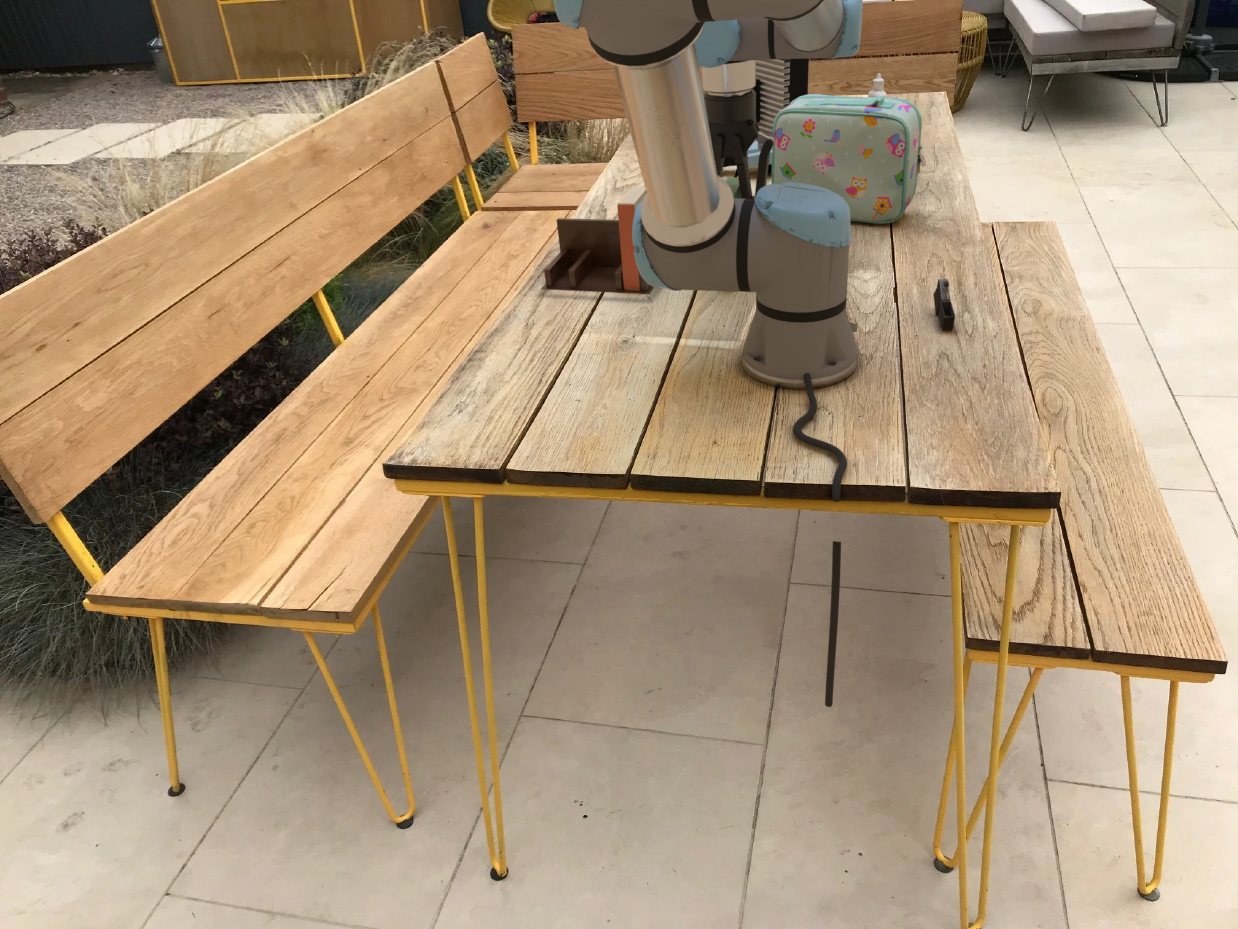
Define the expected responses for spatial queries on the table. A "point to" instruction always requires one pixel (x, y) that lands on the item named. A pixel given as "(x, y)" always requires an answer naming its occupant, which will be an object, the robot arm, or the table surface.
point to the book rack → (589, 258)
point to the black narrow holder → (944, 305)
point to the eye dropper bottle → (877, 87)
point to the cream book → (629, 236)
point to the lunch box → (852, 151)
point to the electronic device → (778, 88)
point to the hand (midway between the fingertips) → (731, 247)
